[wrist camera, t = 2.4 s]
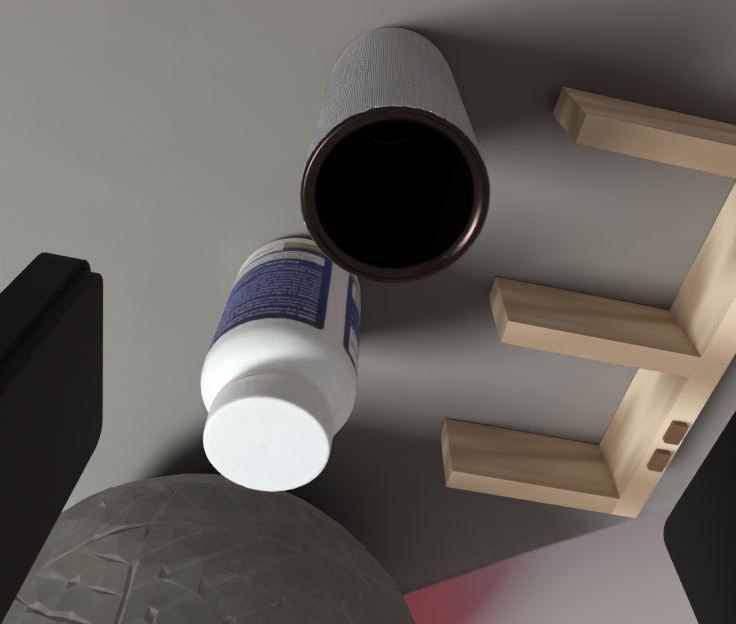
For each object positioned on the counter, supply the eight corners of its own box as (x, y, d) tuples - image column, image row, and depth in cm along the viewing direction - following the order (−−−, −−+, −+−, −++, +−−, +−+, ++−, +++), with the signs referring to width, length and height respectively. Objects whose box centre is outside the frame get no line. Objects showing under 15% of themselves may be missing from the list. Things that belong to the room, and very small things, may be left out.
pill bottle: (211, 291, 29) (144, 448, 21) (292, 208, 27) (251, 347, 19) (305, 362, 31) (277, 531, 23) (387, 290, 29) (389, 448, 21)
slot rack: (562, 86, 25) (588, 115, 21) (792, 138, 25) (851, 173, 22) (440, 433, 33) (446, 491, 30) (614, 463, 34) (638, 523, 31)
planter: (326, 148, 26) (297, 279, 17) (331, 20, 24) (300, 97, 15) (444, 157, 26) (474, 291, 17) (461, 31, 24) (507, 113, 15)
